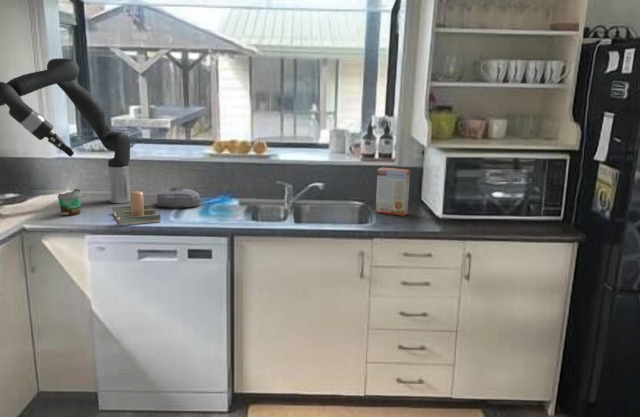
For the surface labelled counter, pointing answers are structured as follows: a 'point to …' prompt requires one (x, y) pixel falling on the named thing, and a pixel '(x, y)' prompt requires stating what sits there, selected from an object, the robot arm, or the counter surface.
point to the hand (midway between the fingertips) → (71, 153)
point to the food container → (70, 203)
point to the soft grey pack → (178, 198)
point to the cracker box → (392, 191)
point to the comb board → (125, 216)
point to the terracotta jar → (137, 203)
